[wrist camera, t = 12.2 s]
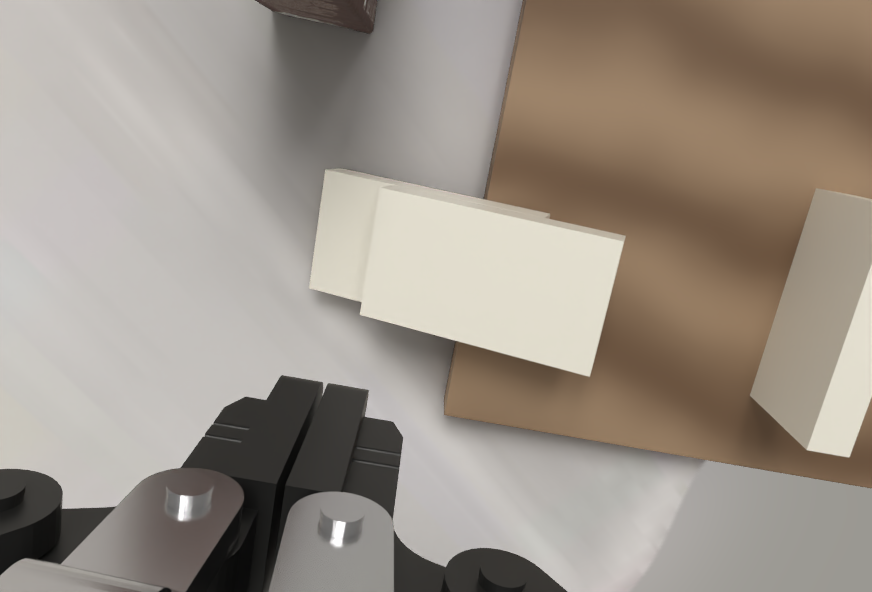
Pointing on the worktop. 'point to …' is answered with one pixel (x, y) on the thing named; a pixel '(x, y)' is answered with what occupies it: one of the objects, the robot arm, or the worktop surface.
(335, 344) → the worktop surface
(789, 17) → the cutting board
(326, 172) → the domino
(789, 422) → the domino
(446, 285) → the domino
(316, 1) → the box
